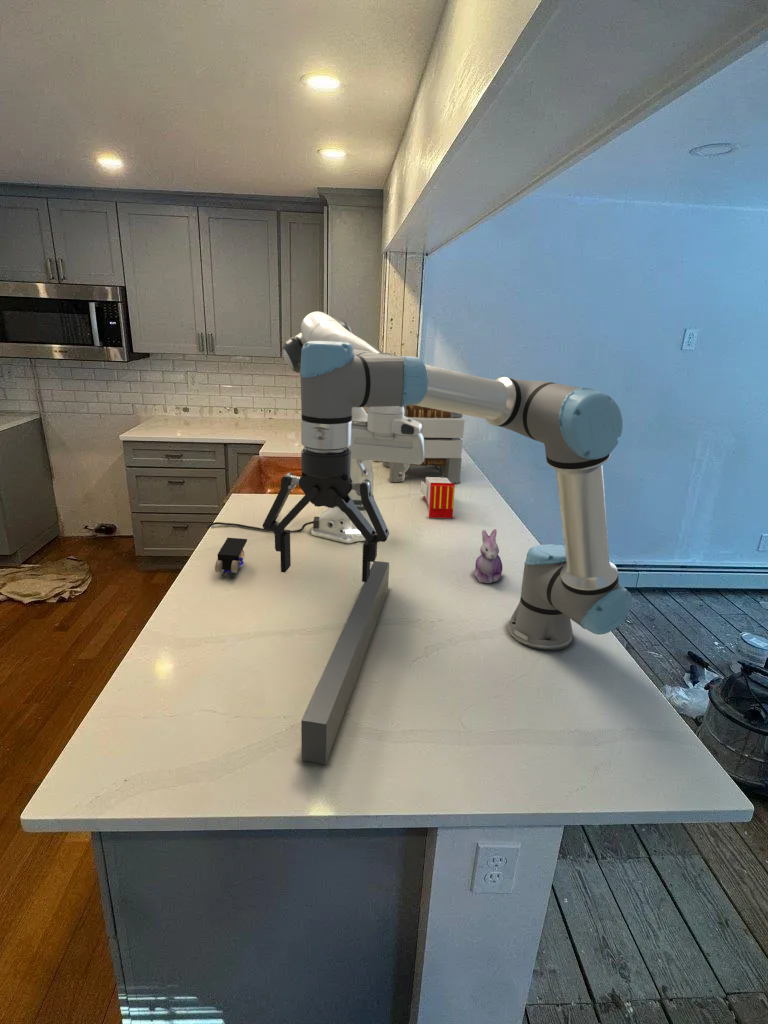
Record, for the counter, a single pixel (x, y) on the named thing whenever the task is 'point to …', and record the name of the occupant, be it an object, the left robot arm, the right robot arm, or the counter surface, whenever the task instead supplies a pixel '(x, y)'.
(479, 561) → the figurine
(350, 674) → the post
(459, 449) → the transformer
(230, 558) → the black wheeled block
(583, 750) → the counter surface
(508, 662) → the counter surface
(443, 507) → the red striped box
